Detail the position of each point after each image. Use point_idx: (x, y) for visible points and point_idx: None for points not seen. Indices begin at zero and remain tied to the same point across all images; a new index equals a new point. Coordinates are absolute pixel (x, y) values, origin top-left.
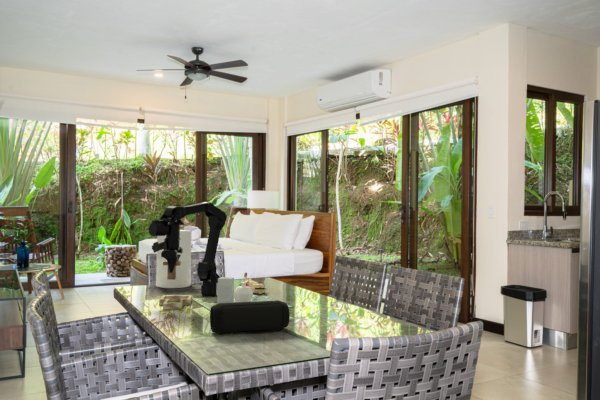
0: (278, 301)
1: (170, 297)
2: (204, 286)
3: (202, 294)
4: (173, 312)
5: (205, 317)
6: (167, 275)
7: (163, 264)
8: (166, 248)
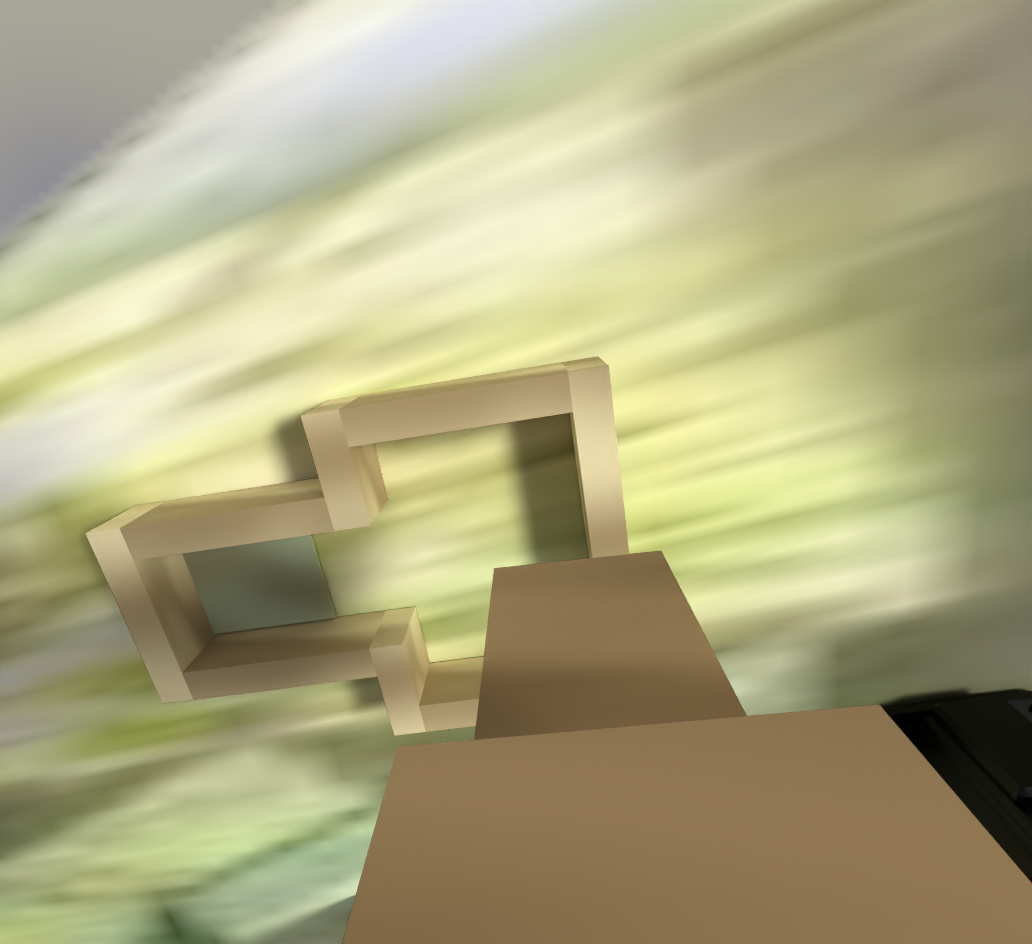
0: None
1: (579, 472)
2: (993, 814)
3: (926, 713)
4: (55, 632)
5: (2, 874)
6: (488, 623)
7: (394, 825)
8: None
